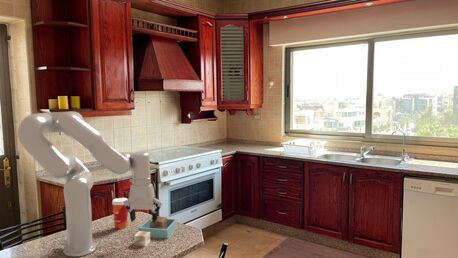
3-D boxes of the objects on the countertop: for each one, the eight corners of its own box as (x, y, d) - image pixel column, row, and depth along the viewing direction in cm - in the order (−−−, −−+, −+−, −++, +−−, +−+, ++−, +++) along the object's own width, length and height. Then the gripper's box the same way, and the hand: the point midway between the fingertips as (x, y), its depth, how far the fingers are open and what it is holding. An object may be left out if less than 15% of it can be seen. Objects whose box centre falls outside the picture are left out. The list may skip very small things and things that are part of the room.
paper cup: (111, 226, 166) (110, 198, 165) (128, 224, 170) (127, 196, 168) (113, 232, 159) (112, 203, 158) (130, 229, 163) (129, 201, 161)
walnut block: (150, 233, 157) (149, 220, 156) (155, 228, 162) (154, 216, 162) (162, 234, 156) (162, 221, 155) (167, 229, 161) (167, 217, 161)
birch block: (134, 247, 144) (134, 235, 144) (139, 242, 149) (139, 231, 149) (145, 248, 143) (145, 236, 143) (150, 242, 148) (150, 231, 148)
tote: (138, 237, 154) (138, 227, 153) (150, 226, 167) (150, 217, 166) (167, 239, 151) (167, 230, 151) (177, 228, 165) (177, 219, 164)
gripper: (118, 183, 141) (120, 223, 143) (157, 184, 138) (159, 225, 140) (126, 179, 149) (129, 217, 151) (164, 179, 146) (166, 218, 147)
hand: (143, 220), depth 145 cm, fingers open, 9 cm apart
